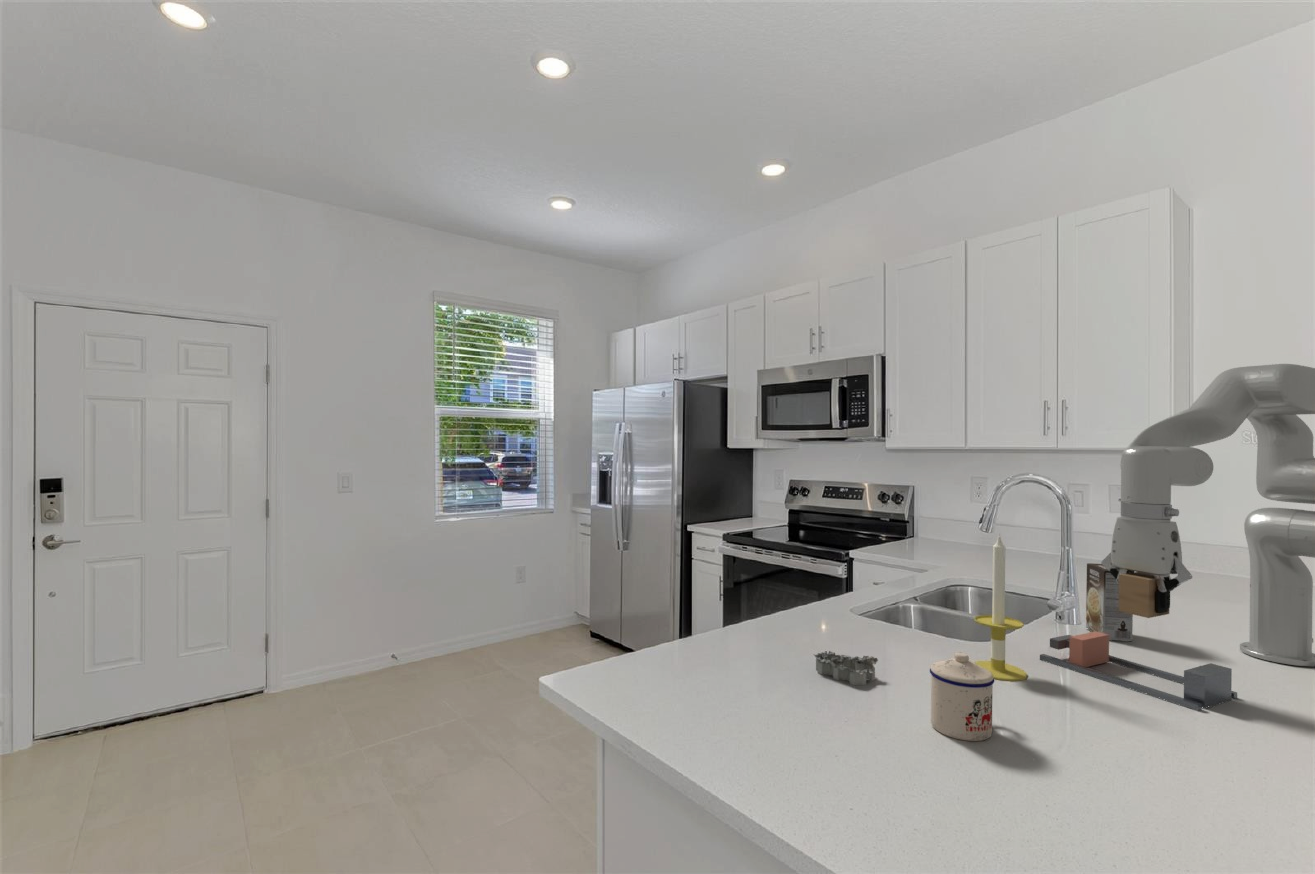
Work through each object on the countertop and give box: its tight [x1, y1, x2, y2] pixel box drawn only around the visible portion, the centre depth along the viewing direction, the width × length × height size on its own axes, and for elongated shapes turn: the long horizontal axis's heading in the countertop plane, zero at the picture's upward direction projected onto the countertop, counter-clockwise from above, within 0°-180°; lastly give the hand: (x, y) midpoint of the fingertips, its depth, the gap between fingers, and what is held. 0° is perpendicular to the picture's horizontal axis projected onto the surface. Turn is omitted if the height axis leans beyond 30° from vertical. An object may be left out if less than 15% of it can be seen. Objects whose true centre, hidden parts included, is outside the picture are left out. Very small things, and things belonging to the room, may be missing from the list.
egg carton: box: [813, 650, 879, 686], centre depth 121 cm, size 11×8×4 cm
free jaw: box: [1049, 631, 1110, 668], centre depth 131 cm, size 9×7×6 cm
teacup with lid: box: [929, 652, 995, 742], centre depth 99 cm, size 12×9×12 cm
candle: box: [973, 533, 1028, 682], centre depth 124 cm, size 10×10×27 cm
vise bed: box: [1039, 653, 1238, 712], centre depth 122 cm, size 13×27×6 cm, turn 26°
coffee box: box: [1085, 563, 1134, 642], centre depth 148 cm, size 9×6×16 cm
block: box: [1119, 571, 1170, 619], centre depth 120 cm, size 7×5×7 cm
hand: (1144, 607), depth 120 cm, fingers closed on block, 5 cm apart
